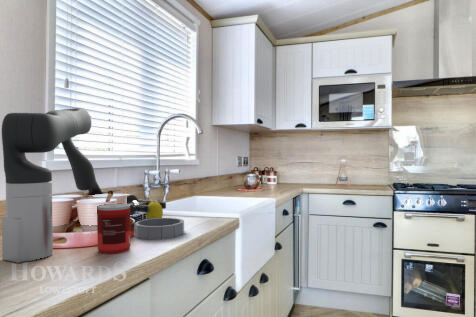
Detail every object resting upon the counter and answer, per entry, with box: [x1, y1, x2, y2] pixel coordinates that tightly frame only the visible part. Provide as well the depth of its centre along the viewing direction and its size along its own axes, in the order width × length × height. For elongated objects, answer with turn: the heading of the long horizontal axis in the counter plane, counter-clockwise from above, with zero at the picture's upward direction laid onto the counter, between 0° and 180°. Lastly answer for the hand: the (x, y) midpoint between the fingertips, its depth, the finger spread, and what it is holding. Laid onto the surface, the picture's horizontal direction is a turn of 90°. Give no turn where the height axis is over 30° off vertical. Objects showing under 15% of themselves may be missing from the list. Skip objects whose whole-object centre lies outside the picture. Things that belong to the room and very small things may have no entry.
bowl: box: [133, 217, 185, 240], centre depth 105 cm, size 14×14×4 cm
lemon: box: [145, 201, 164, 219], centre depth 119 cm, size 6×6×8 cm
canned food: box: [96, 203, 131, 255], centre depth 87 cm, size 8×8×11 cm
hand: (156, 207), depth 118 cm, fingers open, 8 cm apart
